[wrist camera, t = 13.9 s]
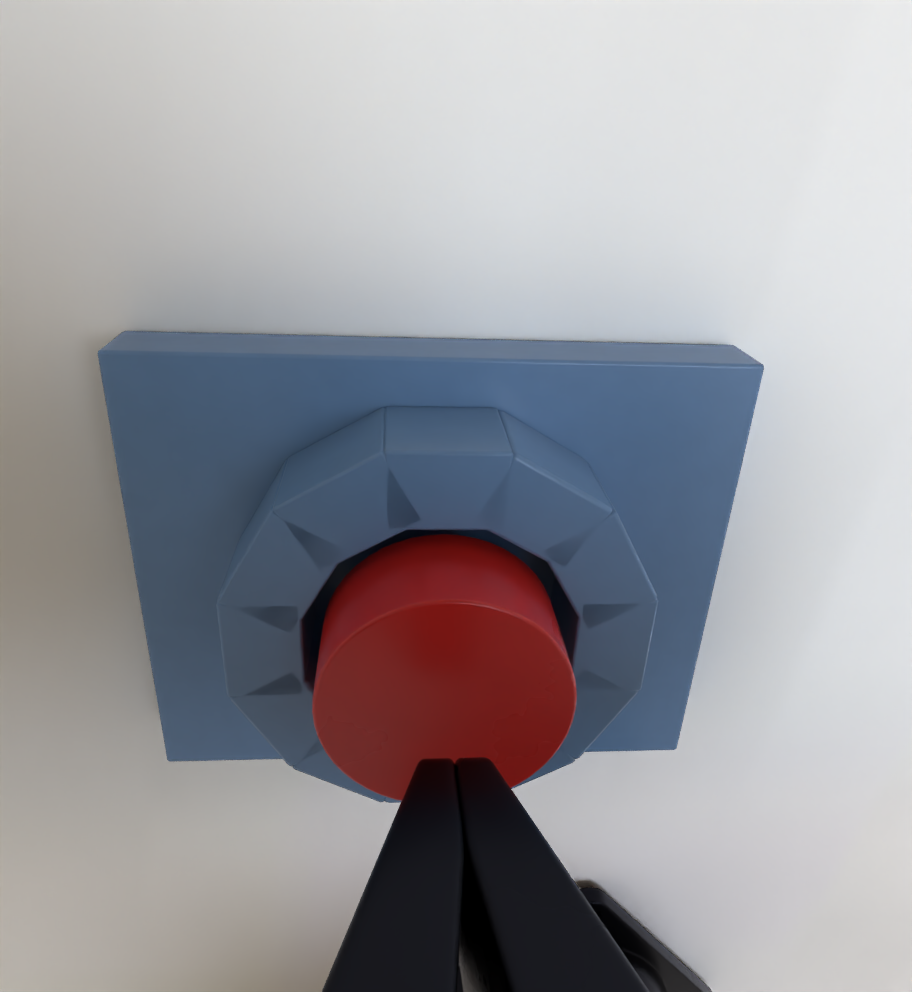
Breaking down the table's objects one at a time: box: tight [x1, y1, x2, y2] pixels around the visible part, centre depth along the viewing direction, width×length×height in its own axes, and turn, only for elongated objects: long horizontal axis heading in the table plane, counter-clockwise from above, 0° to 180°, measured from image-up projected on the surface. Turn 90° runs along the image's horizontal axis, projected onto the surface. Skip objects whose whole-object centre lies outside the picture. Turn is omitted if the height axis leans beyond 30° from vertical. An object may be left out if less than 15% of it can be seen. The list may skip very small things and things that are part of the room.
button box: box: [98, 331, 764, 803], centre depth 13 cm, size 10×8×3 cm
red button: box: [312, 534, 577, 801], centre depth 11 cm, size 4×4×2 cm
